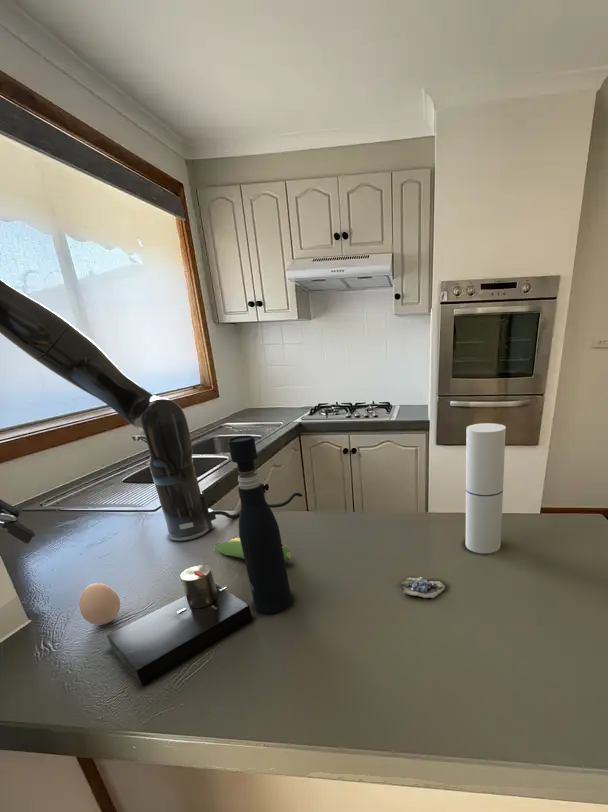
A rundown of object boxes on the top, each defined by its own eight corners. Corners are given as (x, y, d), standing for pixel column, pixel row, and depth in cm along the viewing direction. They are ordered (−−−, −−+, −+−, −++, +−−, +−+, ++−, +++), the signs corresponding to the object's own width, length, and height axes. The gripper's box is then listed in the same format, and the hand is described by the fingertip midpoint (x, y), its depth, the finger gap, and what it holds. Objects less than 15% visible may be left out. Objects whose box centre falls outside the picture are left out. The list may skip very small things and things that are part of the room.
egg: (92, 616, 75) (77, 580, 72) (127, 607, 77) (114, 572, 74) (83, 636, 70) (67, 598, 67) (122, 626, 72) (108, 589, 69)
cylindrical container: (462, 551, 87) (462, 431, 77) (468, 535, 93) (470, 422, 83) (498, 555, 84) (503, 432, 75) (502, 539, 90) (507, 423, 81)
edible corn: (283, 573, 84) (279, 553, 82) (210, 557, 93) (205, 538, 91) (298, 560, 88) (295, 541, 87) (227, 546, 97) (222, 528, 95)
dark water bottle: (298, 594, 77) (270, 433, 65) (279, 616, 71) (245, 444, 60) (267, 590, 79) (235, 433, 68) (247, 611, 73) (209, 443, 62)
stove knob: (183, 602, 72) (174, 573, 70) (208, 588, 76) (200, 560, 73) (197, 611, 69) (188, 582, 67) (223, 597, 73) (215, 568, 70)
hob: (217, 593, 79) (213, 578, 78) (255, 618, 71) (251, 602, 70) (111, 648, 67) (105, 633, 66) (142, 687, 59) (135, 669, 58)
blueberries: (398, 580, 79) (397, 571, 78) (440, 575, 79) (440, 567, 78) (404, 602, 72) (403, 593, 72) (449, 596, 73) (449, 587, 72)
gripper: (-136, 490, 57) (-18, 559, 61) (-39, 459, 70) (53, 517, 74) (-151, 527, 59) (-37, 592, 63) (-55, 490, 72) (35, 545, 76)
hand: (12, 551), depth 69 cm, fingers open, 8 cm apart
